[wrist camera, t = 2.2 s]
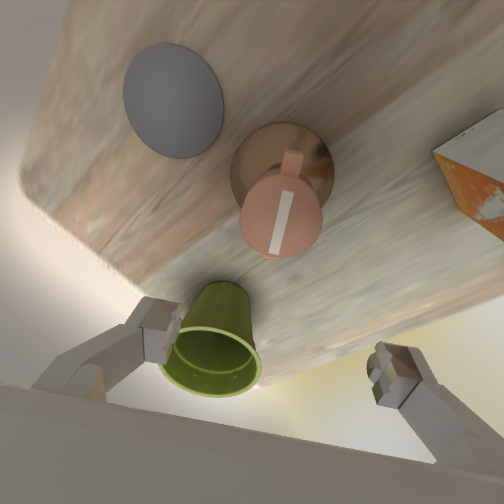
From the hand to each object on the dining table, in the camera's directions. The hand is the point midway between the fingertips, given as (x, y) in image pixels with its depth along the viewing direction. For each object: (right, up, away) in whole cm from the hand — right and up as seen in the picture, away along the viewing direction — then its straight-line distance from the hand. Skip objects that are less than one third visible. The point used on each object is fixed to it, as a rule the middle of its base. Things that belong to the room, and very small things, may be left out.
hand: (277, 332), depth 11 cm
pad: (-9, +18, +16) cm, 26 cm away
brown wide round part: (+2, +12, +19) cm, 22 cm away
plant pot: (-5, -4, +29) cm, 30 cm away
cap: (+1, +7, +12) cm, 14 cm away
